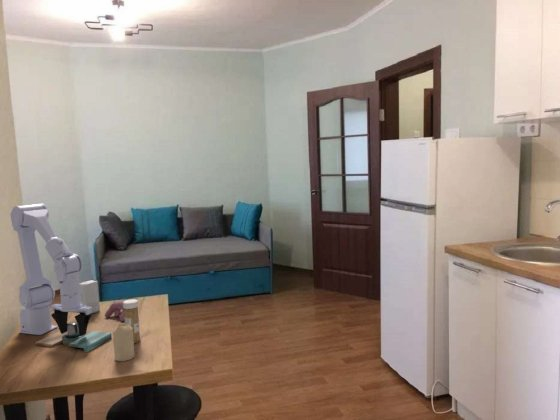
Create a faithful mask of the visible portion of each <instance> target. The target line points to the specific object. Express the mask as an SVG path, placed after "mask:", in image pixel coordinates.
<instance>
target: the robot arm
mask: <svg viewBox="0 0 560 420" xmlns="http://www.w3.org/2000/svg"><path fill="white" fill-rule="evenodd" d="M49 214H50V213H49V209H48V207H47V206H46V204H44V203H41V202H40V203H36V204H34V203H33V204H26V205H24V204H23V205H14V206H13V207H12V209H11V211H10V219H11V220H10V221H11V225H12V228H13V229H12V230H13V231H15V232H17V238H18V243H19V248H20V249H19V250H20V253H21V258H22V262H23V263H22V264H23V268H24V274H25V278H26V279H25V280H24V281H23V282H22V283H21V284H20V285H19V288H18V290H19V291H18V292H19V295H18V297H19V298H18V300H19V303H20V305H21V306H22V307H21V309H20V311H19V320H20V330H19V331H18V332H19V334H28V335H35V336H42V335H44V334H46V333H48V332H50V331H52V330H55V329H57V328H58V331H60V332H61V334H63V333H65V332H67V324H68V316H69V313H73V314H74V313H75V314H77V315H75V316H74V318H75V322H77V324H78V328H79V334H80V336H83V335H87V331H88V330H87V329H88V326H89V322H90V320H91V317H92V315H93V313H92V307H88V306H85V305H82V303H81V301H80V288H79V283H80V276H79V272H80V271H81V270H82V266H83V263H82V260H81V258H80V256H79V255H78V254H76V253H74V252H73V251H71V250H70V248H69V247H68V245H67V244H66V242H65V240H64V239H63V238H61V237H57V234H56V233H55V231H54V228H53V226H52V225H51V223H50V220H49ZM36 232H37V233H38V234H39V235H40V237H41V238H42V240H43V241H44V242H45V243H46V244H45V247H44V248H45V249H46V251H47V253H48V255H49V257H50V258H51V260H52V261H53V263H54V265H53V269H54V272H55V275H56V279H57V281H59V284H58V285H59V292H60V293H59V294H60V303H54V304H53V303H52V302H53V300H54V299H55V297H56V296H55V295H56V291H55V288H54V286H53V285H52V280H50V279H49V278H47V277H45V276H44V275H43V270H42V265H41V260H40V255H39V250H38V244H37V237H36V234H35V233H36ZM51 312H53V313H51ZM52 319H53V320H54V321H55V323H56V325H54V324H52Z"/></svg>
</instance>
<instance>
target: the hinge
mask: <svg viewBox="0 0 560 420" xmlns="http://www.w3.org/2000/svg"><path fill="white" fill-rule="evenodd" d="M112 338H113V336H112V332H107V331H105V332H104V331H97V330H93V331H90V332H89V333H86V334H85V335H83V336H79V337H77V338H71V339H68V332H65V333H63V334H61V332H60V330H58V331H57V332H54V333H52V334H50V335H48V336H45V337H44V338H42V339H40V340H38V341H36V342H35V344H34V345H35V346H41V347H42V346H43V347H50V348H54V347H56V346H58V345H60V344H63V346H67V347H73V348H78V349H79V348H80V349H83V352H87V353H88V352H90V351H92V350H94V349H95V348H97V347H99V346H101V345H103V344H104V343H106V342H107V341H109V340H112Z"/></svg>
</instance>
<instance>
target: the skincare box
mask: <svg viewBox="0 0 560 420" xmlns="http://www.w3.org/2000/svg"><path fill="white" fill-rule="evenodd" d="M98 283H99V282H98V280H93V279H91V280H87V281H83V282H81V283H80V282H79V288H80V301H81V303H82V305H85V306H88V307H92V314H94V313H98V312H99V311H100V310H101V308H100V296H99V284H98Z"/></svg>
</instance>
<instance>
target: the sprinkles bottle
mask: <svg viewBox="0 0 560 420" xmlns="http://www.w3.org/2000/svg"><path fill="white" fill-rule="evenodd" d="M123 308H124V316H125V317H124V319H125V320H124V323H125V324H128V325H130V326H131V327H132V328H133V341H134V344H137V343H139V342H140V341H141V335H140V334H141V333H140V319H139V318H140V317H139V300H138V299H134V298H133V299H126V300H124V301H123Z"/></svg>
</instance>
